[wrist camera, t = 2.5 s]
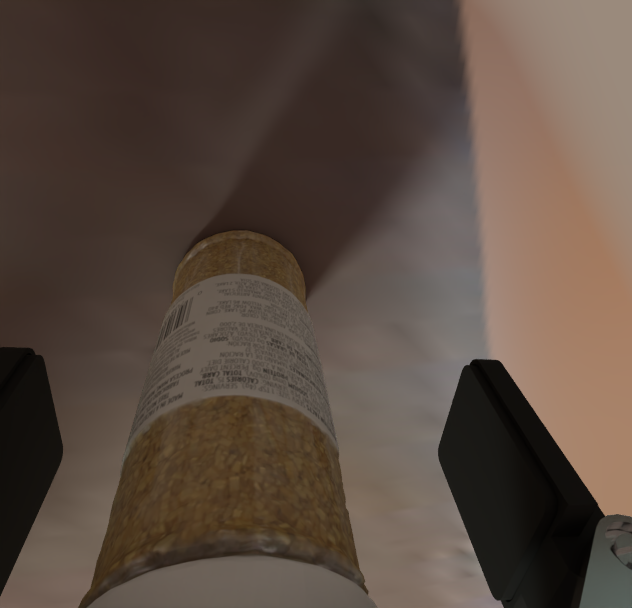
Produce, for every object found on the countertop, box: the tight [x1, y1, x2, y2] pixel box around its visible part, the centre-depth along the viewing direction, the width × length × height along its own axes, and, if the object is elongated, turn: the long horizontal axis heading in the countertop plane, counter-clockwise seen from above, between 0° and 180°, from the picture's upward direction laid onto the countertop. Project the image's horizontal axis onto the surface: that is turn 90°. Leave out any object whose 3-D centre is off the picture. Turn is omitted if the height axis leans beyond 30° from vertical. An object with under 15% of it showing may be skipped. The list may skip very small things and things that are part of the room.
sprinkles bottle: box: [78, 230, 377, 608], centre depth 11 cm, size 5×5×14 cm
